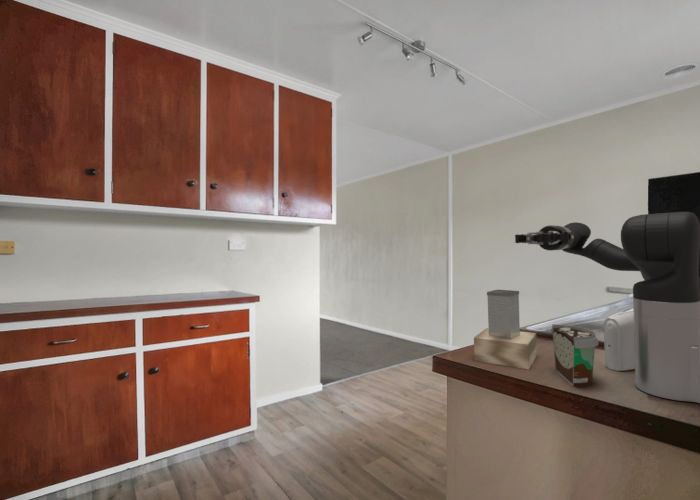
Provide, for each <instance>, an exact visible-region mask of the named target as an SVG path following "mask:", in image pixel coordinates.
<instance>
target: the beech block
mask: <svg viewBox="0 0 700 500" xmlns="http://www.w3.org/2000/svg"><path fill="white" fill-rule="evenodd" d="M537 346H538V344H537V333H536V332H530V331H521V330H520V335H519V336H517V337H515V338H513V339H511V340H510V339H504V338H499V337H493V336H489V327H486V328H484V330H482V331H481V332H480V333H478V334H477V335H476V336H475V335H474V337H473V355H474V357H473V359H474V362H480V363H487V364H492V365H499V366H504V367H511V368H517V369H523V370H529V369H530V368H531V366H532V365H533V363H534V361H535V359H536V358H537V356H538V351H537V350H538V349H537Z"/></svg>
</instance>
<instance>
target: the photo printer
mask: <svg viewBox="0 0 700 500" xmlns="http://www.w3.org/2000/svg"><path fill="white" fill-rule="evenodd" d="M603 340H604V341H603V342H604V343H603V344H604V345H603V346H604V365H605V366H606V367H607V368H608V370H609V369H610V370H612V371H616V372H622V371H630V370H635V350H634V311H620V312H617V313H614V314H612V315H610V316H608V317H607V318H605V319H604V322H603Z"/></svg>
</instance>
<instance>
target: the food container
mask: <svg viewBox="0 0 700 500" xmlns="http://www.w3.org/2000/svg"><path fill="white" fill-rule="evenodd" d="M551 326H552V327H551V334H552V342H553V357H554V358H553V359H554V371H556V372H557V373H558V374H559V375H560V376H561V378H563V379H564V380H565V381H566V382H567V383H569V384H570V386H572V387H573V388H574V387H575V388H577V387H579V388H581V387H587V386H590V385H592V383H593V381H594V380H593V377H594V363H595V362H594V360H595V347H597V346H599V340H598V336H597V335H596V332H595V331H593V330H591V329H588V328H586V327H580V326H574V325H567V324H551Z"/></svg>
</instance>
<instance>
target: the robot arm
mask: <svg viewBox="0 0 700 500" xmlns="http://www.w3.org/2000/svg"><path fill="white" fill-rule="evenodd" d="M626 219H627V220H625V221H624V222H623V224H622V226H621V229H620V242H621V246H617V245H616V244H614V243H611V242H610V241H607V240H605V239H602V238H595V239H593V240H592V241H590V242H589V243H588V244H587V245H586V243H587V241H588V240H589V238H590V236H591V234H592V230H591V228H590V227H589V226H588V225H587V224H585V223H582V222H570V223H568V224H566V225H564V226H562V225H561V226H560V225H551V224H550V225H546V226H544V227H542V228H540V229H539V230H538V231H536V232H527V234H525V233H521V234H515V235H514V238H515V241H514V243H515V244H528V245H537V246H539V247H540V248H541V249H543V250H546V251H560V250H561V251H563V252H565V253H568V254H573V255H577V256H581V257H584V258H587V259H589V260H592V261H594V262H596V263H597V264H599V265H601V266H603V267H605V268H607V269H610V270H614V271H622V272H640V275H641V276H642V278H643V280H641V281H637V282H636V283H634V284H633V286H632V297H633V298H632V303H633V307H632V309H633V312H634V350H635V369H634V378H635V381H634V382H635V384H634V385H635V387H636V388H637V389H638V390H640V391H642V392H644V393H647V394H649V395H651V396H654V397H655V396H656V397H658V398H663V399H667V400H672V401H678V402H679V401H680V402H692V403H697V404H700V276H699V275H700V274H699V273H700V271H699V270H700V221H699V218H698V217H697V215H696V214H695V213H694V212H690V211H677V212H672V211H671V212H661V213H649V214H648V213H646V214H638V215H634V216H631V217H629V218H626ZM585 245H586V246H585ZM584 246H585V247H584Z"/></svg>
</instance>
